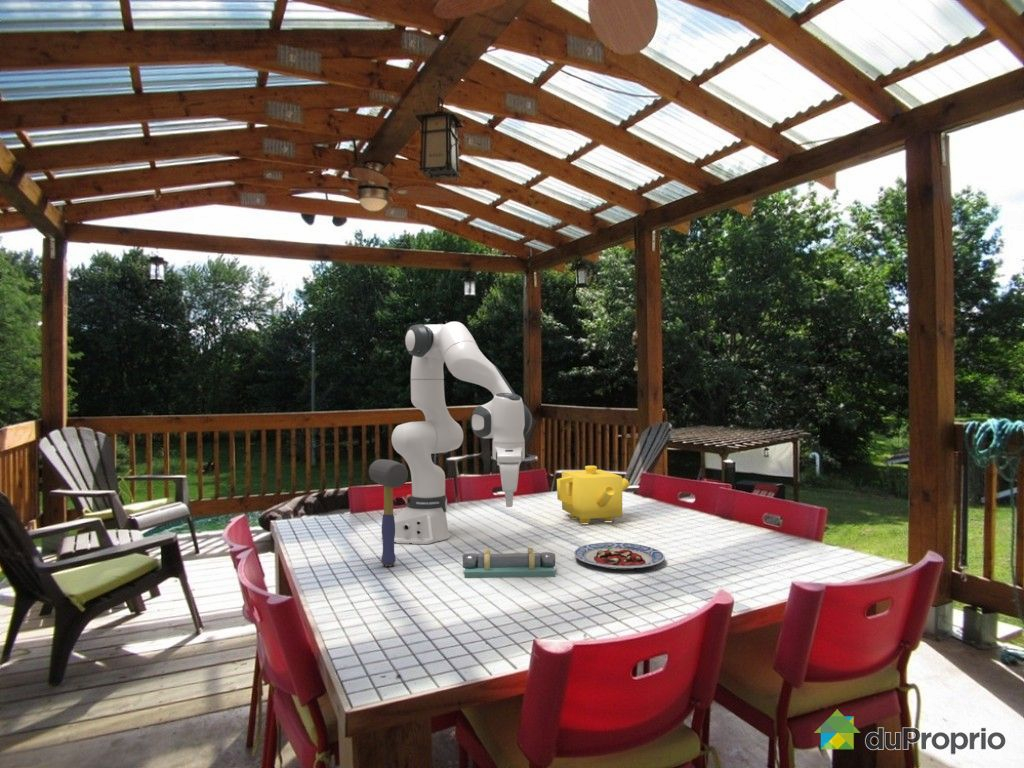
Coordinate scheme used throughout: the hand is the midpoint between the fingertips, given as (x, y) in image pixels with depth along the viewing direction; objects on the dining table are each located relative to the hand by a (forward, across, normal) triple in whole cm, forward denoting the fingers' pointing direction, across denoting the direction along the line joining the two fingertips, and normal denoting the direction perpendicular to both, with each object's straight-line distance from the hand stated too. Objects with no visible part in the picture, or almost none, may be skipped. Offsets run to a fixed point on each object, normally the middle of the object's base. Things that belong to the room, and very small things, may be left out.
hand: (508, 503), depth 168 cm
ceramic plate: (+19, -9, +32) cm, 38 cm away
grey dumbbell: (+17, 0, 0) cm, 17 cm away
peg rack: (+19, 0, 0) cm, 19 cm away
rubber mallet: (+19, -7, -34) cm, 39 cm away
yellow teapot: (+19, -64, +34) cm, 75 cm away
